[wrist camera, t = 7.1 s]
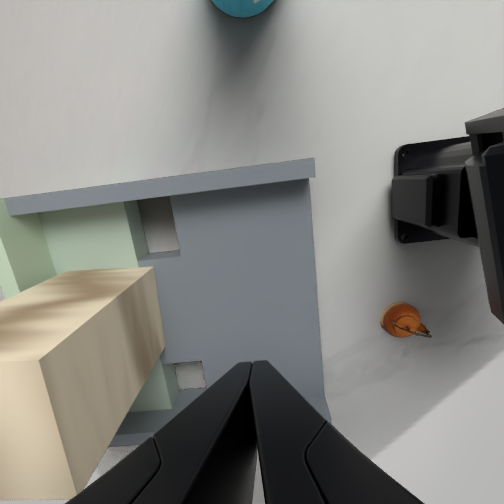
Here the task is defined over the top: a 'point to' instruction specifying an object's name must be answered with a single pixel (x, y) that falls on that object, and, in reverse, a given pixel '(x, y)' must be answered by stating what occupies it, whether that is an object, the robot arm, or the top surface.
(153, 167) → the top surface
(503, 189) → the robot arm
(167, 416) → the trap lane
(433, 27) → the top surface
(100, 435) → the beech block
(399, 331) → the teapot
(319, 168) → the top surface
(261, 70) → the top surface
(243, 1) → the tube
